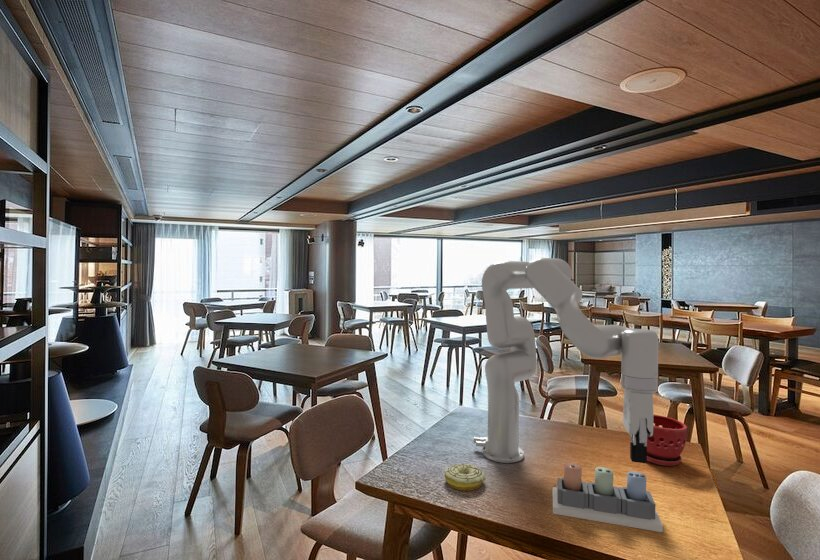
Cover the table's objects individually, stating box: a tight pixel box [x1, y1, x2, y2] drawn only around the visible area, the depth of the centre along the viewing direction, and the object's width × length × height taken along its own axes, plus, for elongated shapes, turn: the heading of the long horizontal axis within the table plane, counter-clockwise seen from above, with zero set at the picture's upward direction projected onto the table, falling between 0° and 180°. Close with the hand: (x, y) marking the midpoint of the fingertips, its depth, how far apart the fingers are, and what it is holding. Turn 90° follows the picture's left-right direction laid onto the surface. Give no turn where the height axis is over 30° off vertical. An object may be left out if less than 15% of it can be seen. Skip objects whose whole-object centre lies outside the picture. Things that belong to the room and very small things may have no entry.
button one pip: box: [563, 462, 583, 491], centre depth 105 cm, size 4×4×5 cm
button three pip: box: [626, 470, 647, 501], centre depth 101 cm, size 4×4×5 cm
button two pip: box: [594, 466, 614, 496], centre depth 103 cm, size 4×4×5 cm
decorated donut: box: [444, 463, 486, 492], centre depth 116 cm, size 10×11×4 cm
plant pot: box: [647, 414, 688, 466], centre depth 131 cm, size 13×13×12 cm
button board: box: [552, 477, 664, 533], centre depth 103 cm, size 23×10×5 cm, turn 72°
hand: (638, 460), depth 100 cm, fingers closed
